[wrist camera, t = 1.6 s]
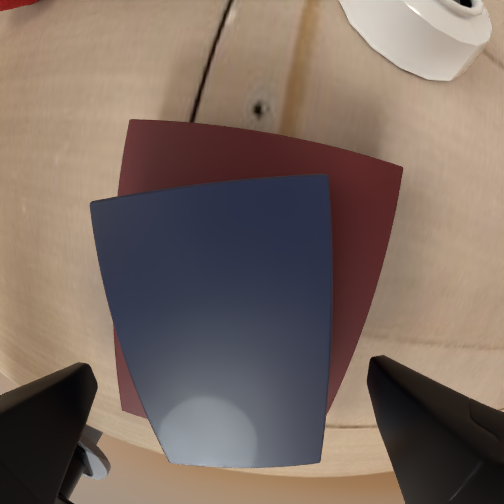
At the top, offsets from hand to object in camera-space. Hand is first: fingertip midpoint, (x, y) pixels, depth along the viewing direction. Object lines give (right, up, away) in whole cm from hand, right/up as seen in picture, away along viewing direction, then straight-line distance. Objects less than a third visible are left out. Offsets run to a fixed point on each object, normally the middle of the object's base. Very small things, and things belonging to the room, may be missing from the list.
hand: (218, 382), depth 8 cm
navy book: (0, +1, +4) cm, 4 cm away
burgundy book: (0, +2, +7) cm, 7 cm away
